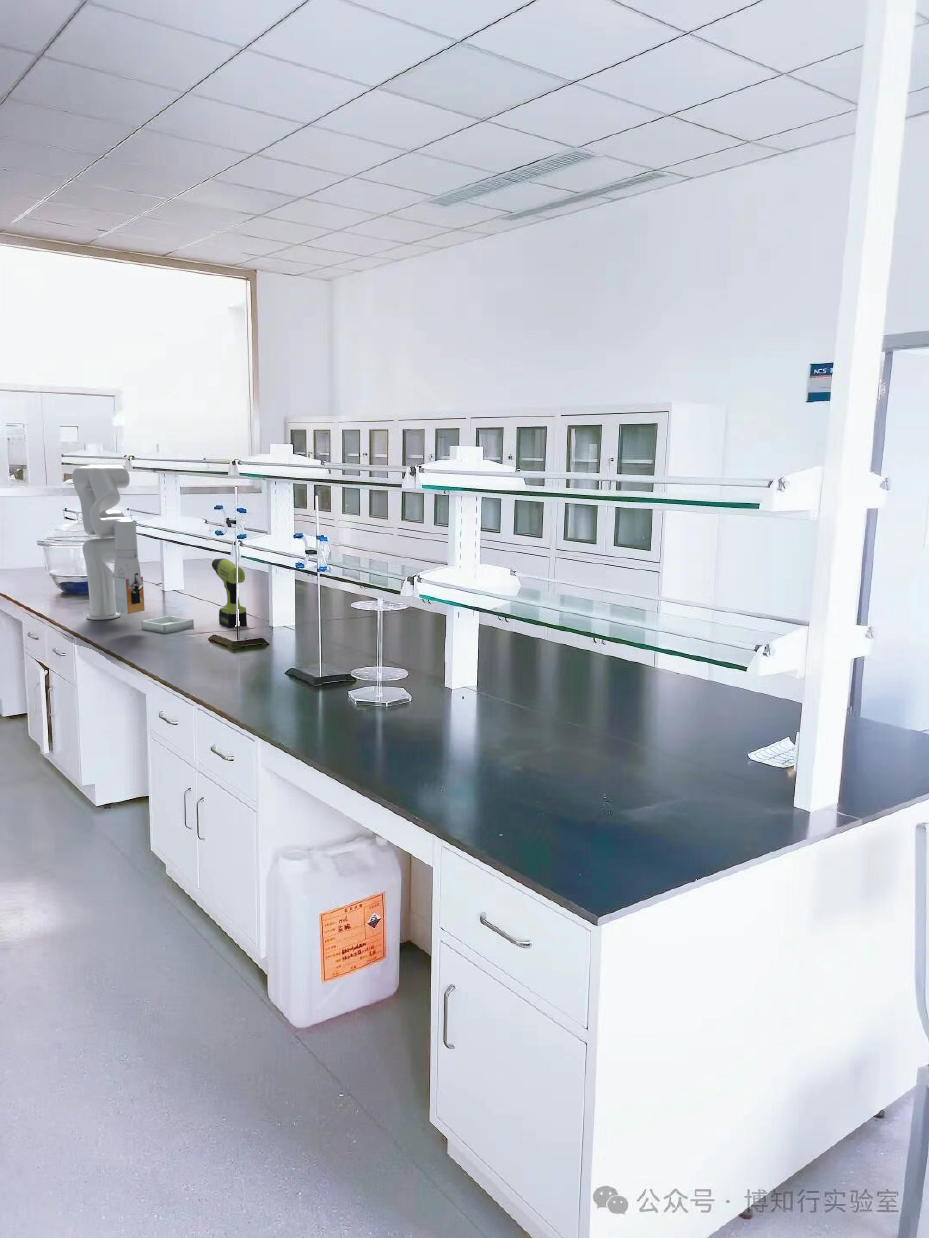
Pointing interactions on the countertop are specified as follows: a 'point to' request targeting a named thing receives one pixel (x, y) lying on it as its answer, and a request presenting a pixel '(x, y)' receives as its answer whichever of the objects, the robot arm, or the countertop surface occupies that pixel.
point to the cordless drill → (230, 593)
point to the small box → (127, 597)
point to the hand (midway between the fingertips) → (129, 601)
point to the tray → (167, 624)
